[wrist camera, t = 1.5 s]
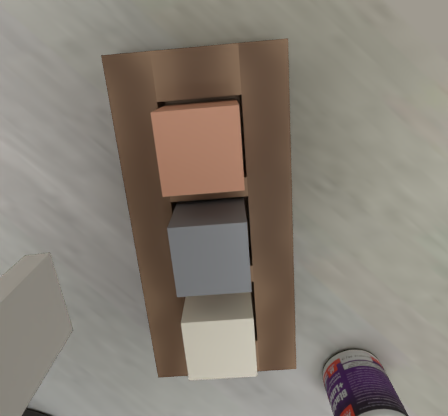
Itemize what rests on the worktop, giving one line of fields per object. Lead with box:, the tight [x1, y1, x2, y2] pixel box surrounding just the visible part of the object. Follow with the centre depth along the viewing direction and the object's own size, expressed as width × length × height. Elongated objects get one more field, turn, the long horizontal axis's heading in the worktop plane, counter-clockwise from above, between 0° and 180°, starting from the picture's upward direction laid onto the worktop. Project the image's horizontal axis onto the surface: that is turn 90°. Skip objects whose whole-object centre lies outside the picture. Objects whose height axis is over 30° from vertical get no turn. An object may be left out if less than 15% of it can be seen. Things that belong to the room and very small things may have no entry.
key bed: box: [101, 39, 296, 377], centre depth 28 cm, size 11×24×4 cm, turn 5°
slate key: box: [167, 197, 252, 297], centre depth 25 cm, size 5×5×5 cm
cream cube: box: [181, 292, 257, 381], centre depth 27 cm, size 5×5×5 cm
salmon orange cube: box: [151, 99, 245, 197], centre depth 23 cm, size 5×5×5 cm
